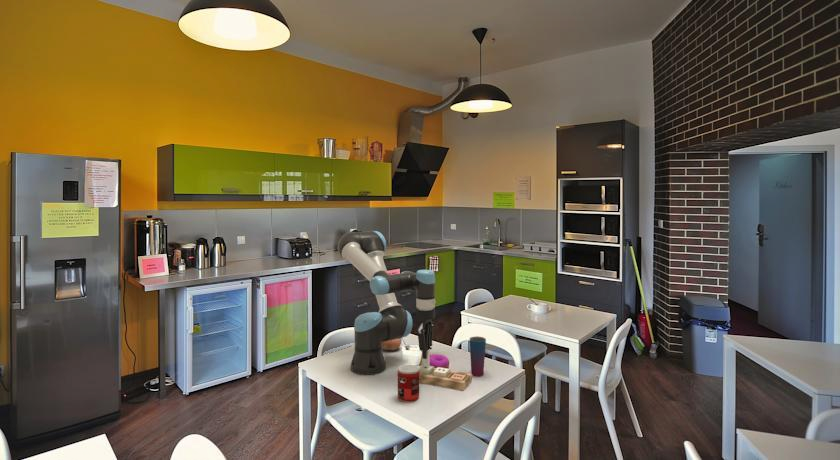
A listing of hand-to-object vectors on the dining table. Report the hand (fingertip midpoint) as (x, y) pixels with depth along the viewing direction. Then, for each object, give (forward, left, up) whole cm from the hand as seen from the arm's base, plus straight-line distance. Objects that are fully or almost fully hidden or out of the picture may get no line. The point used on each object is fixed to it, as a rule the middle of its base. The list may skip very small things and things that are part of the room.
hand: (425, 365), depth 182 cm
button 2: (+7, 0, -3) cm, 7 cm away
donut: (-1, +14, -6) cm, 15 cm away
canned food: (+1, -19, -6) cm, 20 cm away
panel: (+7, 0, -5) cm, 9 cm away
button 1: (0, 0, -3) cm, 3 cm away
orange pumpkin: (-30, +26, -6) cm, 40 cm away
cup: (+18, +13, -6) cm, 23 cm away
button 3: (+14, 0, -5) cm, 15 cm away
